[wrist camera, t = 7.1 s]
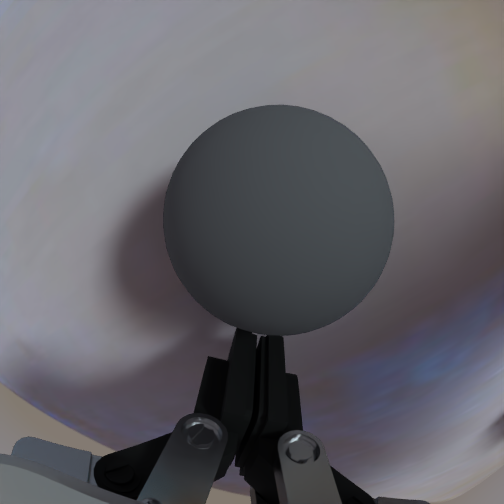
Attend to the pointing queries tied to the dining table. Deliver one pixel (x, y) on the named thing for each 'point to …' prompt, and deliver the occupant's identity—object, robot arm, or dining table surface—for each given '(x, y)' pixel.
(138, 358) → the dining table surface
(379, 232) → the dark grey ball
